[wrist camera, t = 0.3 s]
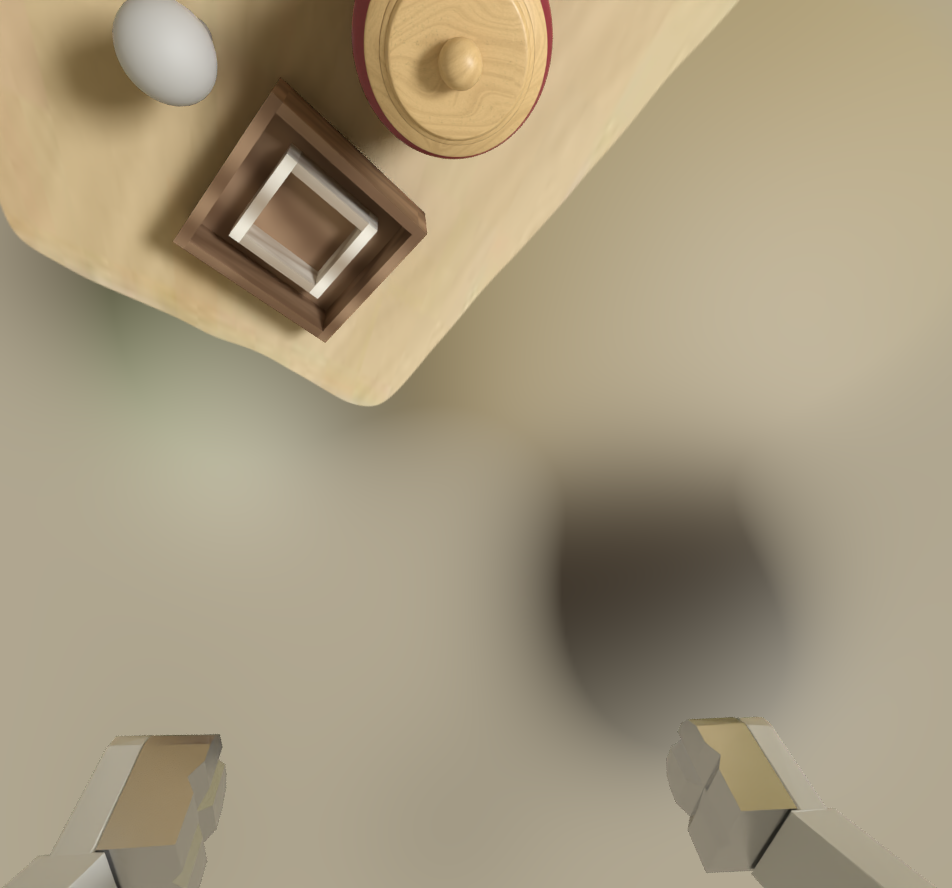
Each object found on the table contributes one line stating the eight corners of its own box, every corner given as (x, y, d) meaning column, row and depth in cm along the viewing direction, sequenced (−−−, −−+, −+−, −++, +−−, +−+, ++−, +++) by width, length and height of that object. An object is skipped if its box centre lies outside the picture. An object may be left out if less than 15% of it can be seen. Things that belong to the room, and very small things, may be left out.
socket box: (280, 77, 44) (271, 91, 40) (424, 212, 53) (427, 234, 49) (187, 219, 51) (172, 241, 47) (329, 317, 60) (325, 342, 56)
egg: (192, -38, 39) (142, -27, 31) (256, 50, 43) (226, 80, 35) (135, 16, 40) (73, 40, 33) (202, 97, 44) (161, 135, 37)
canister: (343, 79, 45) (324, 143, 32) (384, -131, 36) (380, -155, 24) (485, 139, 49) (516, 216, 37) (549, -37, 41) (618, -16, 28)
